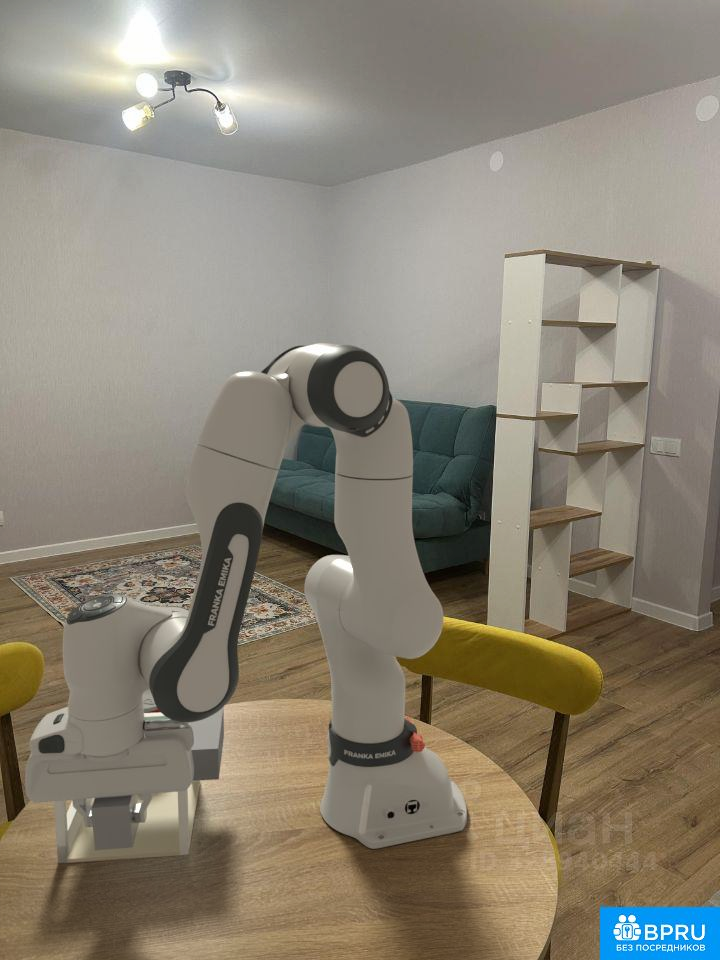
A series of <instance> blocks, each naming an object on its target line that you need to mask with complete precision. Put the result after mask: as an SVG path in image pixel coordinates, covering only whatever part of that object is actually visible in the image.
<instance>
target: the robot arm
mask: <svg viewBox="0 0 720 960" xmlns="http://www.w3.org/2000/svg"><path fill="white" fill-rule="evenodd" d="M389 385H390V384H389V379H388V376H387V374H386V371H385V369H384V367H383V365H382V363H380V361H379V360H378V359H377V358H376V356H374V355H373V354H371V353H370V352H369V351H367V350H365V349H363V348H360V347H358V346H356V345H355V346H354V345H352V344H351V345H350V344H337V343H331V342H330V343H329V342H319V343H314V344H309V345H296V346H292V347H289V348H287V349H285V350H284V351H282V352H281V353H279V354H277V356H276V357H275V358H274V359H273V360H272V361H271V362H269V364H268V365H267V366H266V367H265V368H263V370H261V371H253V370H249V371H245V370H244V371H240V372H236V373H233V374H232V375H230V376H229V377H228V378H227V379H226V380H225V381H224V383H223V384H222V386H221V387H220V389H219V391H218V392H217V394H216V396H215V398H214V399H213V402H212V404H211V405H210V408H209V410H208V412H207V414H206V417H205V419H204V421H203V424H202V426H201V429H200V431H199V434H198V436H197V439H196V443H195V445H194V448H193V451H192V454H191V458H190V462H189V465H188V472H187V476H186V477H187V478H186V485H185V486H186V487H185V496H186V500H187V504H188V505H189V508H190V510H191V513H192V515H193V518H194V520H195V523H196V526H197V529H198V534H199V539H200V545H201V561H200V567H199V570H198V574H197V575H198V576H197V579H196V582H195V585H194V586H195V587H194V590H193V594H192V598H191V601H190V604H189V609H187V608H185V607H181V606H178V605H177V606H175V605H169V606H158V605H157V606H155V605H150V604H146V603H141V602H138V601H136V600H133V599H131V598H130V597H128V596H126V595H124V594H121V593H109V594H102V595H98V596H97V595H96V596H95V597H91V598H88V599H86V600H84V601H83V602H81V603H80V604H78V605H77V606H75V607H74V608H73V609H72V610H71V611H70V612H69V613H68V615H67V616H66V619H65V622H64V626H63V633H62V664H63V673H64V674H63V675H64V679H65V683H66V684H67V687H68V690H69V696H68V697H69V698H68V700H67V701H68V702H67V706H65V707H63V708H60V709H58V710H55V711H52V712H49V713H46V714H45V715H44V717H42V719H41V720H40V722H38V724H37V726H36V727H35V729H34V730H33V732H32V735H31V738H30V741H29V743H28V744H29V745H28V747H29V750H30V755H29V757H28V759H27V762H26V765H25V774H24V775H25V778H24V780H25V781H24V782H25V794H26V797H27V798H28V799H29V800H30V801H31V802H33V803H34V804H38V803H39V804H40V803H48V802H49V803H50V802H54V801H65V800H66V801H71V802H72V801H73V807H74V808H75V809H76V810H77V811H78V812H79V813H80V815H81V816H82V817H83V818H84V827H93V823H92V813H91V807H92V806H91V805H90V804H89V802H88V801H87V800H86V799H90V798H103V797H115V796H128V795H140V800H143V801H142V802H141V803H140V804H135V805H134V809H133V812H132V814H133V818H134V819H133V823H143V822H145V821H146V818H147V807H148V805H149V804H150V802H151V800H152V796H153V793H165V792H178V791H186V790H187V789H188V788H189V786H190V785H191V784H192V782H193V777H194V763H193V756H192V751H191V748H192V746H193V744H194V735H193V729H192V727H191V726H190V725H189V724H187V723H185V722H195V721H200V720H203V719H205V718H208V717H210V716H212V715H213V714H215V713H217V712H218V711H219V710H220V709H222V708H223V709H224V707H225V706H226V705H227V704H228V703H229V701H230V700H231V698H232V697H233V695H234V694H235V691H236V690H237V686H238V683H239V678H240V677H239V676H240V674H239V673H240V668H239V666H240V665H239V656H238V655H239V654H238V646H239V636H240V633H241V627H242V623H243V620H244V615H245V611H246V606H247V604H248V603H247V602H248V600H249V595H250V591H251V588H252V584H253V579H254V574H255V571H256V567H257V563H258V559H259V553H260V549H261V542H262V537H263V532H264V530H263V529H264V525H265V520H266V519H265V518H266V514H267V511H268V507H269V503H270V500H271V497H272V496H271V495H272V493H273V489H274V487H275V483H276V481H277V477H278V474H279V470H280V468H281V465H282V461H283V459H284V454H285V450H286V447H287V446H288V445H289V442H290V440H291V439H292V437H293V436H294V435H295V433H297V431H298V430H299V429H300V428H301V427H303V426H305V425H308V426H310V427H314V428H315V427H316V428H329V430H330V431H331V434H332V437H333V439H334V443H335V449H336V454H335V468H334V469H335V470H334V471H335V472H334V473H335V474H334V475H335V476H334V477H335V478H334V481H335V482H334V514H333V515H334V516H333V519H334V522H333V523H334V525H335V530H336V531H337V535H338V536H339V537H340V538H341V540H342V542H343V544H344V545H345V548H346V551H347V554H348V555H344V554H330V555H326V556H323V557H321V558H320V559H318V560H316V562H315V563H314V564H312V566H311V567H310V569H309V571H308V573H307V574H306V577H305V581H304V590H303V591H304V598H305V600H306V602H307V604H308V605H309V607H310V608H311V610H312V612H313V614H314V617H315V619H316V621H317V622H316V623H317V624H318V628H319V631H320V634H321V638H322V641H323V642H322V643H323V646H324V650H325V655H326V658H327V663H328V667H329V675H330V681H331V683H330V684H331V686H330V687H331V690H330V691H331V696H330V697H331V718H330V721H329V724H328V731H327V757H328V760H329V767H328V773H327V778H326V779H327V780H326V784H325V788H324V793H323V795H322V797H321V798H322V799H321V802H320V805H319V806H320V807H319V810H320V813H321V817H322V818H323V820H324V821H325V823H327V825H329V826H330V828H332V829H334V830H335V831H337V832H339V833H341V834H343V835H346V836H350V837H352V838H354V839H356V840H357V841H359V842H360V843H361V844H362V845H363V846H365V847H367V848H369V849H373V850H375V849H377V850H378V849H381V848H385V847H390V846H394V845H400V844H405V843H409V842H414V841H420V840H425V839H428V838H433V837H439V836H443V835H449V834H452V833H453V834H454V833H457V832H461V831H463V830H464V829H465V827H466V825H467V821H468V811H467V804H466V801H465V798H464V795H463V793H462V791H461V790H460V788H459V787H458V785H457V784H456V783H455V782H454V781H453V779H452V778H451V777H450V774H449V772H448V769H447V767H446V765H445V764H444V762H443V760H442V759H441V758H440V756H438V754H437V753H436V752H434V751H433V750H430V749H429V748H428V747H426V744H425V741H424V738H423V737H422V735H421V734H419V733H418V728H417V727H416V725H415V724H414V723H413V721H412V719H411V718H410V716H409V715H407V716H406V717H405V714H406V713H405V711H406V710H405V709H406V708H405V707H406V678H405V674H404V671H403V669H402V667H401V664H400V663H399V662H398V661H397V659H396V658H402V659H407V660H413V659H418V658H420V657H422V656H425V654H426V653H428V652H429V651H430V650H431V649H433V648H434V646H435V644H436V643H437V641H438V640H439V637H440V636H441V634H442V630H443V625H444V610H443V606H442V604H441V602H440V600H439V599H438V597H437V596H436V595H435V593H434V591H433V590H432V588H431V587H430V585H429V582H428V581H427V579H426V576H425V573H424V572H423V568H422V564H421V562H420V558H419V554H418V550H417V547H416V543H415V537H414V531H413V530H414V529H413V484H414V483H413V479H414V478H413V477H414V476H413V474H414V454H413V453H414V452H413V451H414V449H413V437H412V435H413V434H412V428H411V422H410V416H409V412H408V409H407V407H405V405H404V404H403V403H402V402H401V401H399V400H397V399H396V398H395V397H393V395H392V392H391V391H390V386H389ZM148 689H150V691H151V693H152V696H153V699H154V702H155V704H156V706H157V708H158V710H159V711H160V712H161V713H162V714H163V715H164V716H166V717H167V718H169V719H170V720H152V721H145V720H144V708H143V693H144V691H146V690H148ZM406 718H407V719H406ZM181 725H183V726H181Z"/></svg>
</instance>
